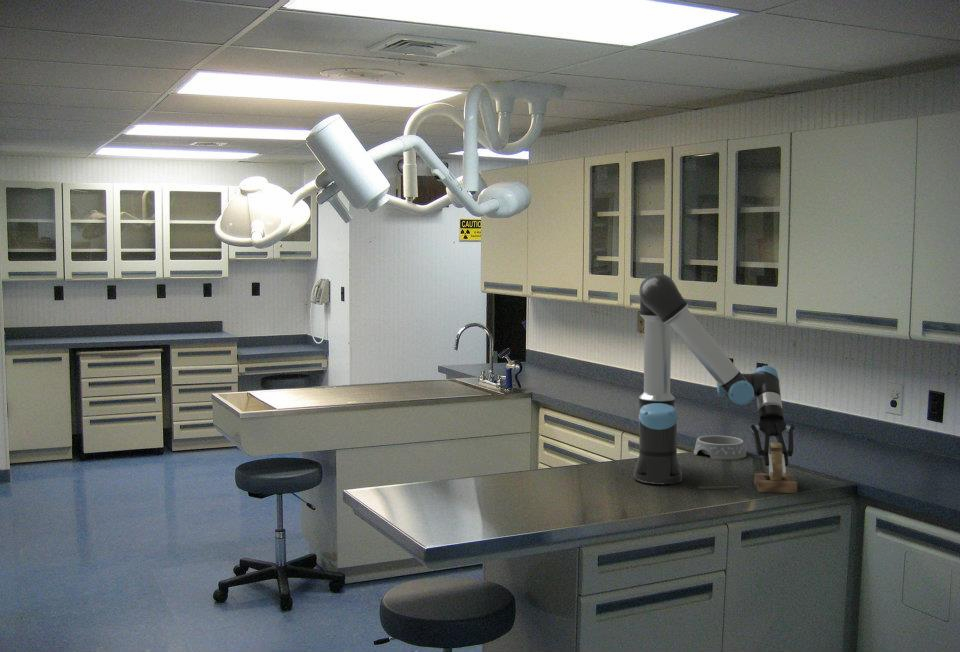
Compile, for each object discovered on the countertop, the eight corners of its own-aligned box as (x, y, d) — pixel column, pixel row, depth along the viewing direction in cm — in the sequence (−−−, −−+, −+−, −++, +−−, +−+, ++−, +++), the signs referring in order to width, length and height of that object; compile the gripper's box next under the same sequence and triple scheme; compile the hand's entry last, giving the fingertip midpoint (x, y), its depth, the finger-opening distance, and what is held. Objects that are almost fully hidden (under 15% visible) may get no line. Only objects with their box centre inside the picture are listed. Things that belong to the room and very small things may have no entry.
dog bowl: (716, 446, 336) (716, 432, 336) (756, 455, 321) (757, 440, 321) (683, 453, 327) (684, 438, 326) (724, 462, 312) (724, 447, 311)
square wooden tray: (758, 491, 274) (759, 482, 274) (754, 482, 285) (754, 473, 284) (797, 493, 272) (797, 483, 272) (790, 483, 283) (791, 473, 283)
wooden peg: (771, 483, 277) (771, 444, 276) (769, 480, 280) (770, 442, 279) (781, 483, 276) (782, 445, 275) (780, 481, 279) (780, 442, 278)
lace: (699, 489, 278) (699, 487, 278) (698, 488, 279) (698, 486, 278) (738, 488, 278) (738, 486, 278) (737, 487, 279) (738, 486, 279)
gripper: (795, 417, 290) (804, 481, 276) (742, 416, 293) (748, 480, 278) (798, 403, 285) (807, 468, 270) (745, 403, 287) (751, 467, 273)
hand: (777, 474), depth 274 cm, fingers closed on wooden peg, 3 cm apart
